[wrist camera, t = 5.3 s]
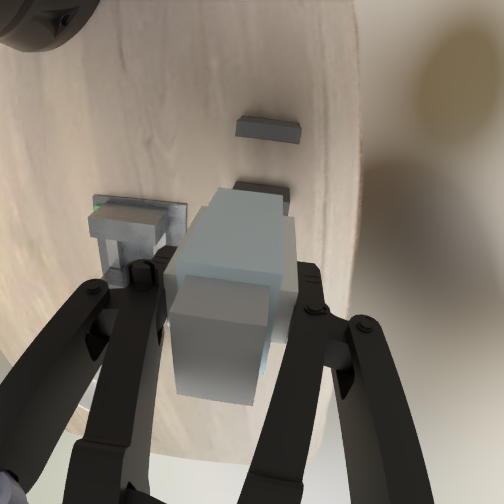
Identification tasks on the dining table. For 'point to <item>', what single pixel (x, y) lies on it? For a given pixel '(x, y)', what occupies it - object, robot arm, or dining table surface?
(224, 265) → the plug
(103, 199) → the port
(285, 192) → the pair of dark bars
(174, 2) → the dining table surface
